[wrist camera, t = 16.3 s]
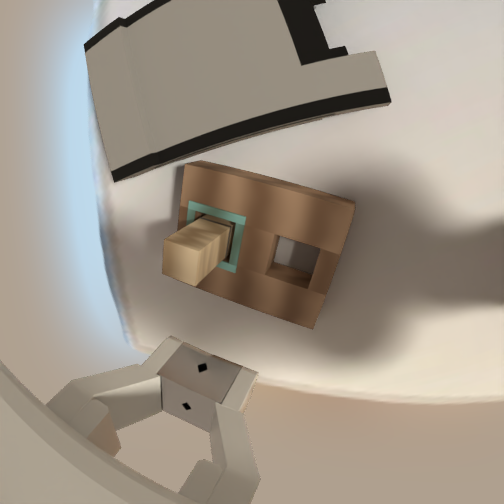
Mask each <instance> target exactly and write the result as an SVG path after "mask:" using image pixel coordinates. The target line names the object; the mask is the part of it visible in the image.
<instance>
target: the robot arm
mask: <svg viewBox="0 0 504 504" xmlns="http://www.w3.org/2000/svg"><path fill="white" fill-rule="evenodd" d="M258 373H259V372H256V371H254V370H251V369H248V368H246V367H243V366H241V365H238V364H236V363H233V362H230V361H228V360H225V359H223V358H220V357H218V356H215V355H212V354H210V353H207V352H205V351H203V350H201V349H199V348H197V347H194V346H192V345H190V344H188V343H186V342H183V341H181V340H179V339H177V338H175V337H173V336H170V337H168V338H166V339H165V341H164V342H163V343H162V344H161V345H160V346H159V347H158V348H157V349H156V350H155V351H154V352H153V353H152V355H151V356H150V357H149V358H148V359H147V360H146V361H145V362H144V363H143V364H142V365H141V366H140V365H138V364H135V365H131V366H127V367H124V368H120V369H116V370H112V371H108V372H104V373H100V374H96V375H92V376H87V377H83V378H79V379H74V380H72V381H70V382H69V383H68V384H67V385H66V386H65V387H64V388H63V389H62V390H61V391H60V392H59V393H58V394H56V395H55V396H54V397H53V398H52V399H51V400H50V401H49V402H48V403H47V404H46V405H44V404H43V403H42V402H41V401H40V400H39V399H38V398H37V397H35V396H34V395H33V393H31V392H30V391H29V390H28V389H27V388H26V387H25V386H24V385H23V384H22V383H21V382H20V381H19V380H18V379H17V378H16V377H15V376H14V375H13V373H12V372H11V371H10V370H9V369H8V368H7V367H6V366H5V365H4V364H3V363H2V362H1V361H0V504H250V503H251V501H252V499H253V496H254V494H255V492H256V489H257V487H258V485H259V482H260V476H259V472H258V468H257V464H256V460H255V456H254V452H253V448H252V444H251V440H250V436H249V432H248V428H247V424H246V420H245V416H244V412H245V409H246V407H247V405H248V402H249V400H250V397H251V395H252V392H253V389H254V386H255V383H256V380H257V377H258ZM162 410H163V411H165V412H167V413H169V414H171V415H173V416H175V417H178V418H180V419H182V420H185V421H186V422H188V423H190V424H192V425H195V426H196V427H198V428H201V429H203V430H205V431H207V432H209V433H210V442H211V451H212V459H213V462H210V461H208V460H205V459H203V460H199V461H198V462H197V463H196V465H195V467H194V469H193V470H192V472H191V473H190V475H189V477H188V478H187V480H186V481H185V483H184V485H183V486H182V488H181V489H180V491H179V492H178V493H176V492H174V491H172V490H170V489H168V488H166V487H164V486H162V485H160V484H158V483H156V482H154V481H153V480H151V479H149V478H147V477H145V476H144V475H142V474H140V473H138V472H137V471H135V470H133V469H131V468H130V467H128V466H126V465H125V464H123V463H122V462H120V461H118V460H117V459H115V458H114V457H115V455H116V454H117V453H118V451H119V450H120V449H121V446H120V442H119V439H118V436H117V433H116V431H117V430H119V429H121V428H124V427H127V426H129V425H131V424H134V423H136V422H138V421H141V420H143V419H146V418H148V417H150V416H152V415H155V414H157V413H159V412H161V411H162Z"/></svg>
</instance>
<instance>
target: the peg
mask: <svg viewBox="0 0 504 504" xmlns="http://www.w3.org/2000/svg"><path fill="white" fill-rule="evenodd" d="M235 226H236V223H235V222H232V221H228V220H225V219H222V218H218V217H215V216H212V215H208V214H206V215H205V216H203V217H200V218H199V219H198V220H196V221H194V222H193V223H191V224H189V225H187V226H186V227H184V228H182V229H181V230H179V231H177V232H176V233H174V234H172V235H171V236H169V237H167V238H166V239H164V249H163V267H162V274H165V275H167V276H169V277H172V278H174V279H177V280H179V281H182V282H184V283H187V284H190V285H192V286H196V285H197V284H198V283H199V282H200V281H201V280H202V279H203V278H204V277H205V276H207V275H208V274H209V273H210V272H211V271H212V270H213V269H214V268H215V267H216V266H217V265H218V264H219V263H220V262H221V261H222V260H223V259H224V258H226V257H227V255H228V254H229V253H231V248H232V243H233V237H234V232H235Z"/></svg>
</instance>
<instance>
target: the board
mask: <svg viewBox="0 0 504 504" xmlns="http://www.w3.org/2000/svg"><path fill="white" fill-rule="evenodd" d="M354 212H355V202H354V201H351V200H348V199H345V198H341V197H338V196H335V195H332V194H328V193H325V192H322V191H318V190H315V189H312V188H308V187H305V186H301V185H298V184H294V183H291V182H287V181H283V180H280V179H276V178H272V177H268V176H264V175H261V174H257V173H253V172H249V171H245V170H241V169H236V168H232V167H228V166H224V165H220V164H215V163H211V162H206V161H202V160H200V161H196V162H191V163H187V164H185V168H184V176H183V183H182V192H181V201H180V210H179V219H178V230H177V231H179V230H181V229H182V228H184V227H186V226H187V225H189V224H191V223H193V222H194V221H196V220H198V219H199V218H200V217H203V216H205V215H206V214H208V215H212V216H215V217H218V218H222V219H225V220H228V221H232V222H235V223H236V226H235V232H234V237H233V243H232V248H231V253H229V254H228V255H227V257H226V258H224V259H223V260H222V261H221V262H220V263H219V264H218V265H217V266H216V267H215V268H214V269H213V270H212V271H211V272H210V273H209V274H208V275H207V276H205V277H204V278H203V279H202V280H201V281H200V282H199V283H198V284H197V285H196V286H194V287H196V288H199V289H202V290H204V291H207V292H209V293H212V294H215V295H217V296H220V297H223V298H225V299H228V300H231V301H233V302H236V303H239V304H241V305H244V306H247V307H250V308H252V309H255V310H258V311H261V312H263V313H266V314H269V315H272V316H275V317H278V318H281V319H283V320H286V321H289V322H292V323H295V324H298V325H301V326H304V327H307V328H310V329H313V328H314V326H315V323H316V320H317V318H318V315H319V313H320V310H321V308H322V305H323V302H324V300H325V297H326V294H327V292H328V289H329V286H330V283H331V281H332V278H333V275H334V272H335V269H336V267H337V264H338V261H339V258H340V255H341V252H342V249H343V246H344V243H345V240H346V237H347V234H348V231H349V228H350V225H351V221H352V218H353V215H354ZM280 236H283V237H286V238H289V239H292V240H295V241H298V242H302V243H305V244H308V245H311V246H314V247H317V248H320V253H319V256H318V259H317V262H316V265H315V269H314V272H313V275H312V274H309V273H306V272H303V271H300V270H297V269H294V268H291V267H288V266H285V265H282V264H278V263H275V262H274V258H275V254H276V250H277V246H278V242H279V238H280ZM176 280H177V279H176ZM181 282H182V281H181ZM186 284H187V283H186ZM189 285H190V284H189ZM191 286H192V285H191Z"/></svg>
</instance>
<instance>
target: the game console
mask: <svg viewBox="0 0 504 504" xmlns="http://www.w3.org/2000/svg"><path fill="white" fill-rule="evenodd" d="M322 3H326V1H325V0H154V1H152V2H151V3H149V4H147V5H146V6H144V7H143V8H141V9H139V10H138V11H136V12H135V13H133V14H132V15H130V16H129V17H127V18H126V19H123V18H120V17H118V18H117V19H116V20H114V21H113V22H111V23H110V24H109V25H107V26H106V27H105V28H103V29H102V30H101V31H100V32H98V33H97V34H96V35H95V36H93V37H92V38H91V39H90V40H88V41H87V42H86V43H85V44H84V49H85V56H86V62H87V68H88V74H89V79H90V85H91V90H92V95H93V100H94V105H95V109H96V114H97V118H98V123H99V127H100V131H101V135H102V139H103V143H104V147H105V151H106V155H107V159H108V162H109V166H110V169H111V173H112V176H113V180H114V182H118V181H121V180H125V179H128V178H132V177H135V176H138V175H141V174H143V173H146V172H148V171H151V170H153V169H156V168H158V167H161V166H164V165H166V164H169V163H172V162H174V161H178V160H183V159H186V158H189V157H191V156H194V155H197V154H200V153H203V152H206V151H209V150H212V149H215V148H218V147H221V146H225V145H228V144H231V143H234V142H237V141H241V140H244V139H248V138H251V137H254V136H258V135H262V134H265V133H269V132H272V131H276V130H280V129H284V128H288V127H292V126H296V125H300V124H304V123H308V122H313V121H317V120H321V119H322V118H325V117H329V116H334V115H339V114H344V113H349V112H354V111H359V110H365V109H371V108H377V107H383V106H388V105H389V104H390V103H391V98H390V95H389V92H388V88H387V85H386V82H385V78H384V75H383V72H382V69H381V66H380V63H379V60H378V57H377V55H376V52H375V51H370V52H364V53H358V54H352V55H348V52H347V49H346V47H345V46H342V47H337V48H332V49H329V47H328V44H327V41H326V39H325V36H324V33H323V31H322V28H321V26H320V23H319V21H318V18H317V16H316V13H315V11H314V9H313V6H314V5H318V4H322Z"/></svg>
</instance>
